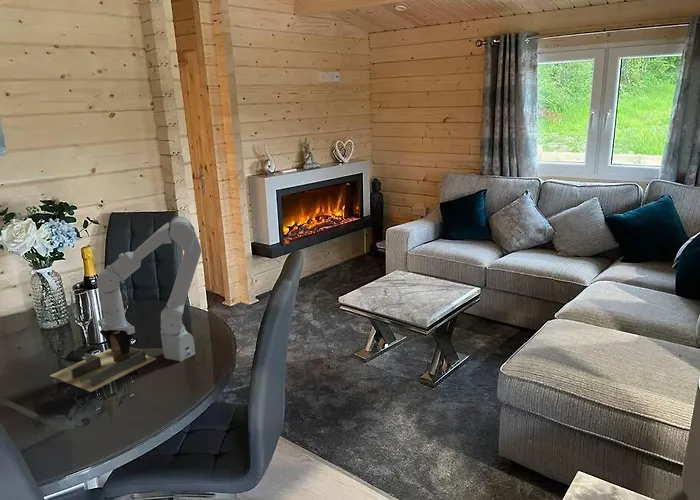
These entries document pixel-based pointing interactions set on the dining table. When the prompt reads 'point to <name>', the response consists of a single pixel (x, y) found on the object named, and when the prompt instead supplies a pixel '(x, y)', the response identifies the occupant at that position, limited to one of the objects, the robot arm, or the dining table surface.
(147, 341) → the dining table surface
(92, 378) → the channel walls
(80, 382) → the board
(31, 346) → the dining table surface
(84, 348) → the game controller
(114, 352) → the peg
